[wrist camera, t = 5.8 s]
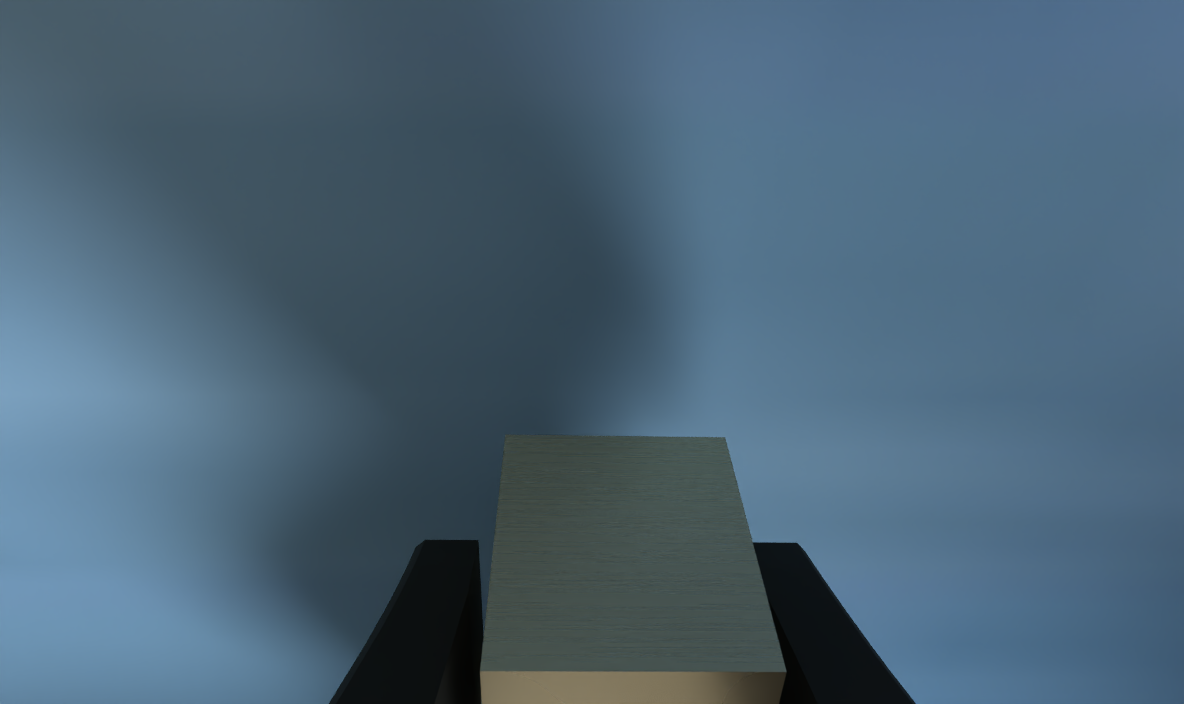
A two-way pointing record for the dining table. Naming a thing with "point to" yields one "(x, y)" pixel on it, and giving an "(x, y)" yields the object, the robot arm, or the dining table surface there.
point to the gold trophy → (625, 577)
